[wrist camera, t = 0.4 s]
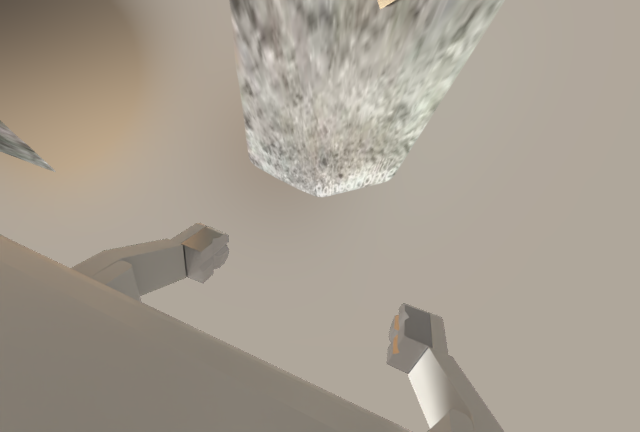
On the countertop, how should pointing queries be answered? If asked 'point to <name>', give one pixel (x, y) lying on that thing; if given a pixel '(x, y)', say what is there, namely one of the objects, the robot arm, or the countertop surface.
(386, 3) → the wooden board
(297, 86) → the countertop surface
